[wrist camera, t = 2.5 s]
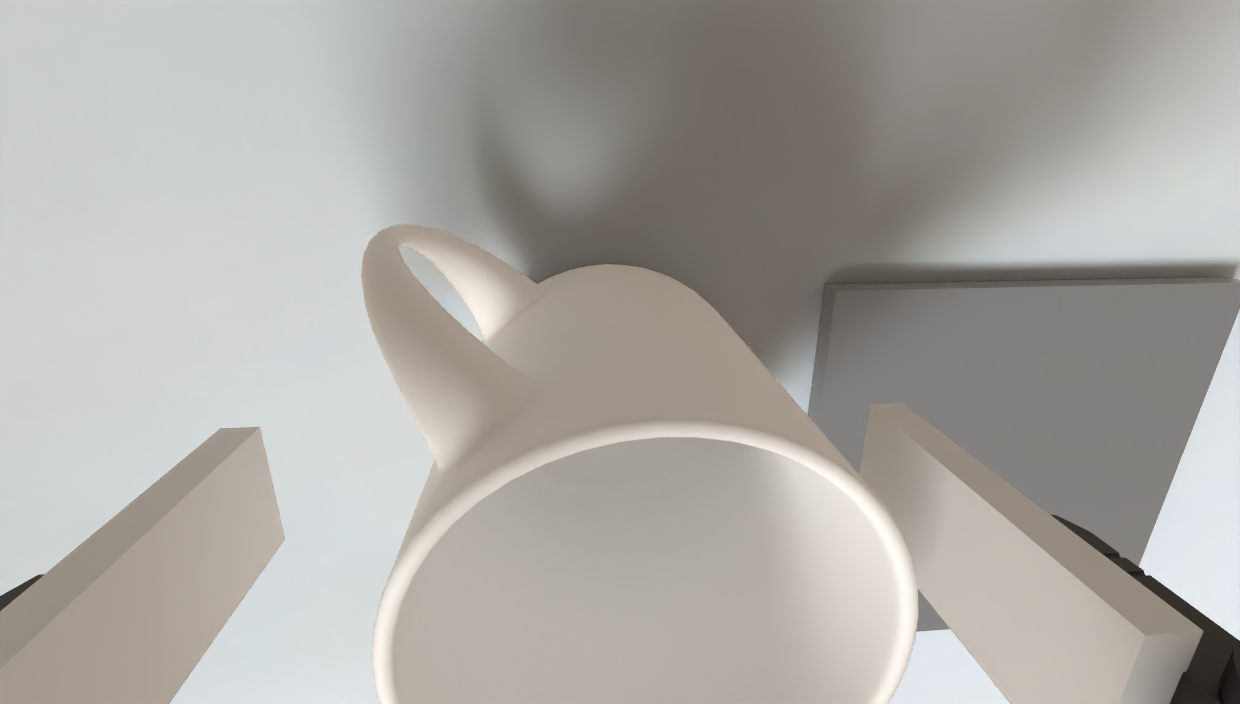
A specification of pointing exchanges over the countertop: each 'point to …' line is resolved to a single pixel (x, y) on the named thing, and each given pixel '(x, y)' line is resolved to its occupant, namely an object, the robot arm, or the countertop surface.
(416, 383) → the mug
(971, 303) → the plate
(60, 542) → the countertop surface
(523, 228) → the countertop surface
